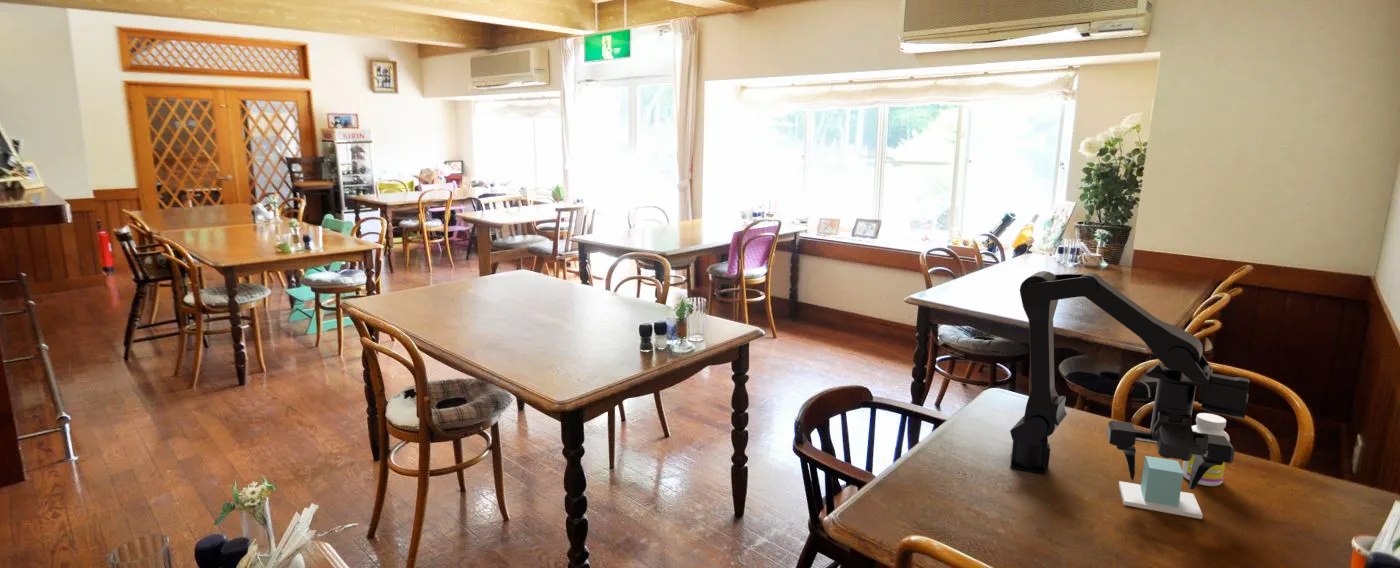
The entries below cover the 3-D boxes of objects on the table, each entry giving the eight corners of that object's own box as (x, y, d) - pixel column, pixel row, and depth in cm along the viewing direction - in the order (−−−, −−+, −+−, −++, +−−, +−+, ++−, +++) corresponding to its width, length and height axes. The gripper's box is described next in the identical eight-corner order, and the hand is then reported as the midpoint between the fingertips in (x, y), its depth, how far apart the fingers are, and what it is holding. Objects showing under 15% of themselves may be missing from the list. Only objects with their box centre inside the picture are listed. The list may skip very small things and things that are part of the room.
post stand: (1123, 504, 131) (1128, 472, 130) (1118, 484, 138) (1122, 454, 137) (1202, 519, 126) (1207, 485, 125) (1192, 497, 133) (1197, 466, 132)
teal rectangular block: (1144, 501, 131) (1149, 467, 129) (1140, 488, 135) (1145, 455, 134) (1178, 507, 129) (1183, 473, 127) (1173, 493, 133) (1178, 461, 132)
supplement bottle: (1228, 489, 136) (1240, 426, 133) (1190, 485, 138) (1200, 423, 135) (1212, 472, 143) (1222, 412, 140) (1175, 469, 144) (1184, 409, 141)
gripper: (1118, 412, 124) (1107, 494, 128) (1249, 430, 117) (1234, 516, 121) (1111, 390, 134) (1101, 466, 138) (1232, 405, 127) (1218, 486, 130)
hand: (1161, 483), depth 131 cm, fingers open, 9 cm apart
